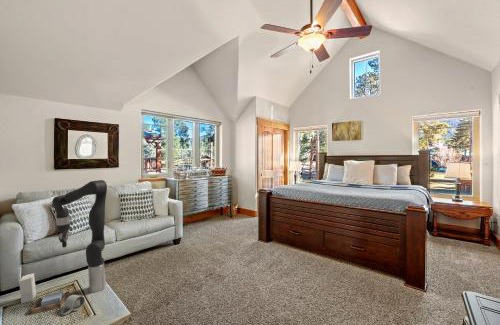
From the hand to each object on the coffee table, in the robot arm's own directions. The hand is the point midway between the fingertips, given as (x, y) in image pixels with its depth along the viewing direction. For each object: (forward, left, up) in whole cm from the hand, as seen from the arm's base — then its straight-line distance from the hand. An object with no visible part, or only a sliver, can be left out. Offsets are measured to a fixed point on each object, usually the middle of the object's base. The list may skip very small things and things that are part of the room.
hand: (64, 246), depth 166 cm
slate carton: (0, +24, -27) cm, 36 cm away
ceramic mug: (-13, +36, -27) cm, 47 cm away
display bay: (+2, +24, -27) cm, 36 cm away
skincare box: (+17, +12, -27) cm, 34 cm away
